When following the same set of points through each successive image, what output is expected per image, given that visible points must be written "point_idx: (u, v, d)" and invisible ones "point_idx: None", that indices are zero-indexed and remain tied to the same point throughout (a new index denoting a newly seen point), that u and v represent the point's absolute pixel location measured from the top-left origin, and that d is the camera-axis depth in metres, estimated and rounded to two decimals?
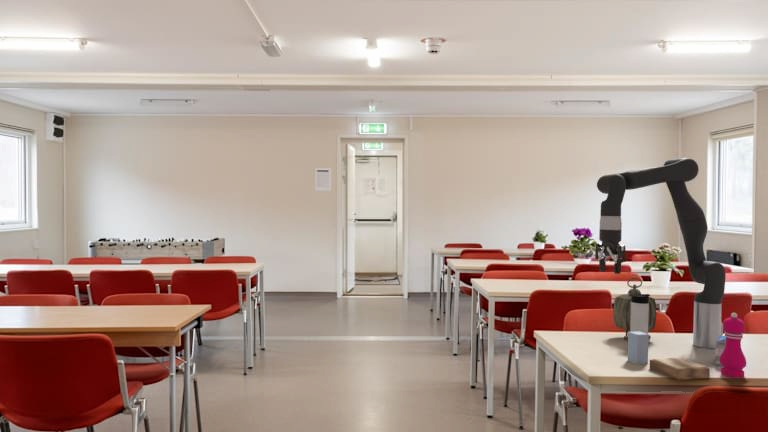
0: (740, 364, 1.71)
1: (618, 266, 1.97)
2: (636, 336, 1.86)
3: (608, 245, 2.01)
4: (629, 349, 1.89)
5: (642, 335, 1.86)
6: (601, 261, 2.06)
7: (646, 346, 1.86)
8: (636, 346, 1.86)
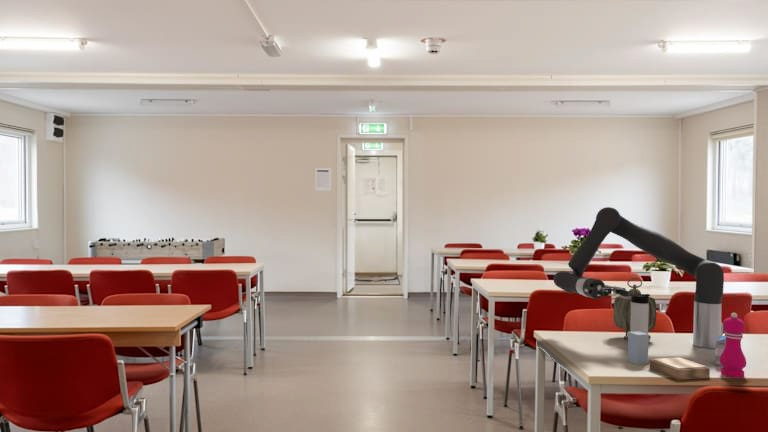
0: (740, 364, 1.71)
1: (600, 293, 2.00)
2: (636, 336, 1.86)
3: None
4: (629, 349, 1.89)
5: (642, 335, 1.86)
6: (620, 293, 2.03)
7: (646, 346, 1.86)
8: (636, 346, 1.86)
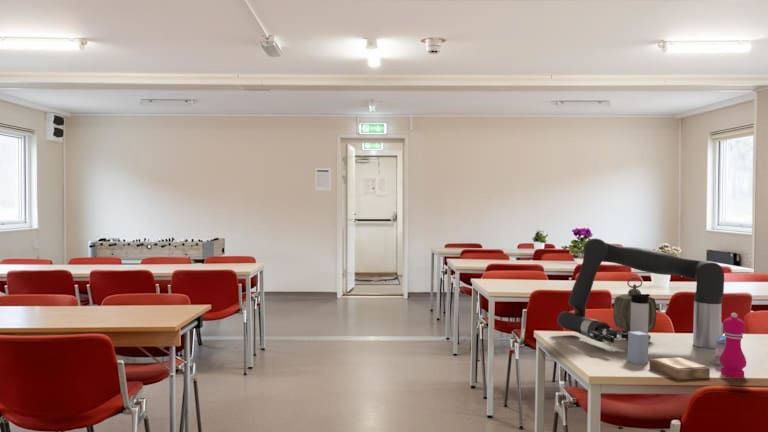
0: (740, 364, 1.71)
1: (606, 339, 1.96)
2: (636, 336, 1.86)
3: None
4: (629, 349, 1.89)
5: (642, 335, 1.86)
6: (626, 338, 2.00)
7: (646, 346, 1.86)
8: (636, 346, 1.86)
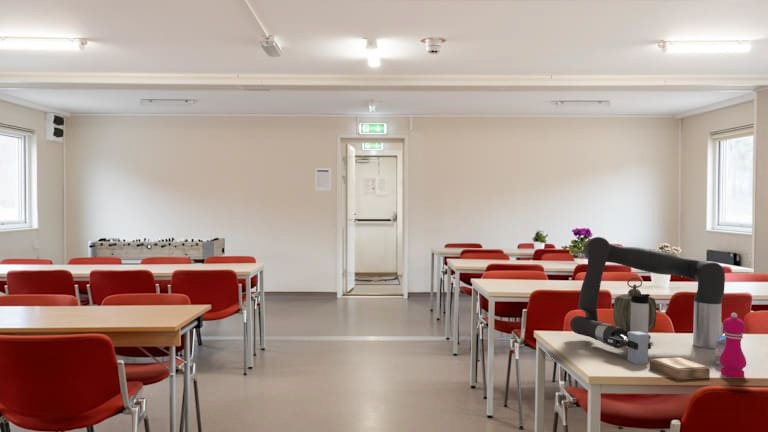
0: (740, 364, 1.71)
1: (629, 345, 1.87)
2: (636, 336, 1.86)
3: None
4: (629, 349, 1.89)
5: (642, 335, 1.86)
6: None
7: (646, 346, 1.86)
8: None
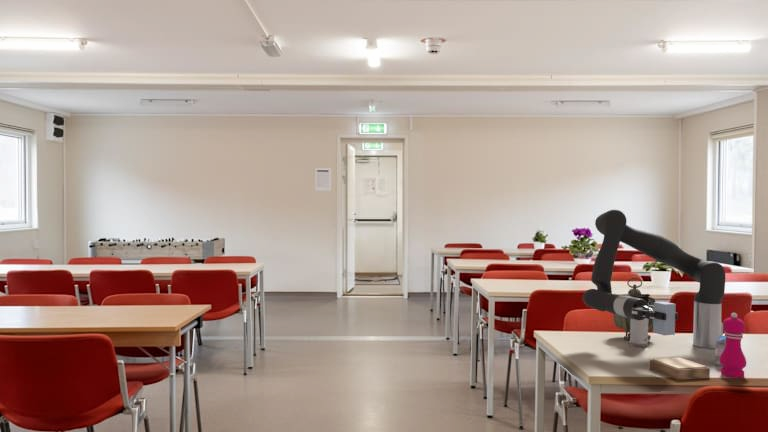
0: (740, 364, 1.71)
1: (656, 316, 1.78)
2: (664, 306, 1.77)
3: None
4: (655, 320, 1.80)
5: (670, 305, 1.77)
6: None
7: (673, 316, 1.78)
8: None
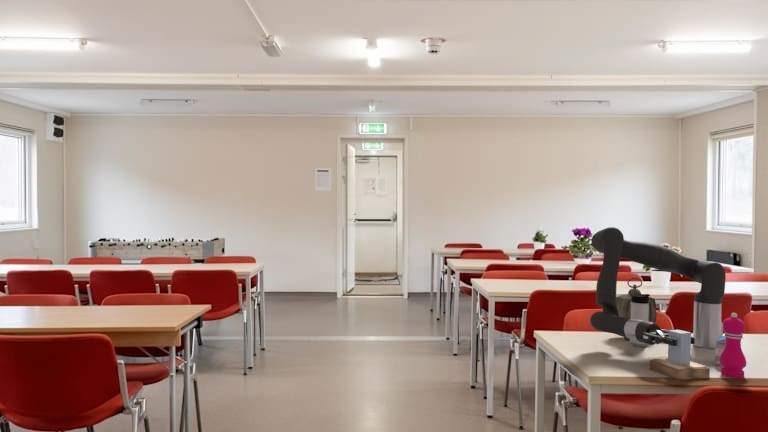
0: (740, 364, 1.71)
1: (666, 342, 1.74)
2: (680, 335, 1.73)
3: None
4: (670, 349, 1.76)
5: (686, 334, 1.73)
6: None
7: (689, 345, 1.74)
8: (679, 346, 1.73)
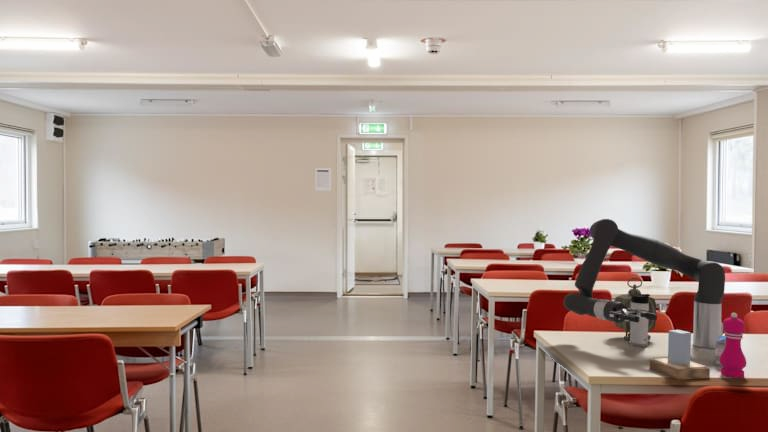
0: (740, 364, 1.71)
1: (630, 319, 1.88)
2: (680, 335, 1.73)
3: None
4: (670, 349, 1.76)
5: (686, 334, 1.73)
6: (646, 317, 1.92)
7: (689, 345, 1.74)
8: (679, 346, 1.73)
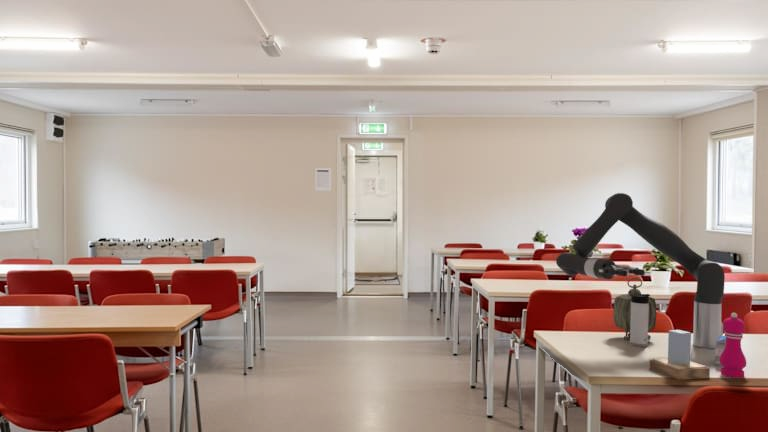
0: (740, 364, 1.71)
1: (618, 273, 1.94)
2: (680, 335, 1.73)
3: None
4: (670, 349, 1.76)
5: (686, 334, 1.73)
6: (634, 273, 1.98)
7: (689, 345, 1.74)
8: (679, 346, 1.73)
